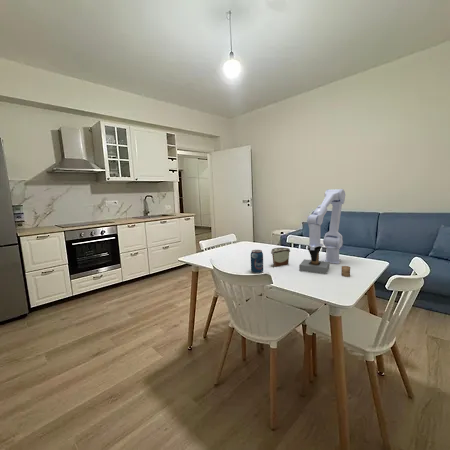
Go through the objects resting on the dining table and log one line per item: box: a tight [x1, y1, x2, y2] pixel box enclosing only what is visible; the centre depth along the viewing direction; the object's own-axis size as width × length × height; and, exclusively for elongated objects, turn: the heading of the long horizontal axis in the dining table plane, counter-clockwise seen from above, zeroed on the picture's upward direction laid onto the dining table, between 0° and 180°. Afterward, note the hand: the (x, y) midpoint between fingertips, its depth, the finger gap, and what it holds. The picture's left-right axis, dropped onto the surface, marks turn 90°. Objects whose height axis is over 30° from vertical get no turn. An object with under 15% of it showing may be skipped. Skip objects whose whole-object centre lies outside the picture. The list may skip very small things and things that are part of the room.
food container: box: [270, 247, 291, 268], centre depth 149 cm, size 12×6×10 cm, turn 111°
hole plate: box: [298, 259, 331, 275], centre depth 138 cm, size 12×14×4 cm
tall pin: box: [310, 251, 320, 265], centre depth 137 cm, size 4×4×8 cm
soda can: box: [250, 249, 264, 274], centre depth 138 cm, size 7×7×12 cm
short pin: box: [340, 265, 351, 278], centre depth 126 cm, size 4×4×4 cm
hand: (314, 260), depth 137 cm, fingers open, 4 cm apart
